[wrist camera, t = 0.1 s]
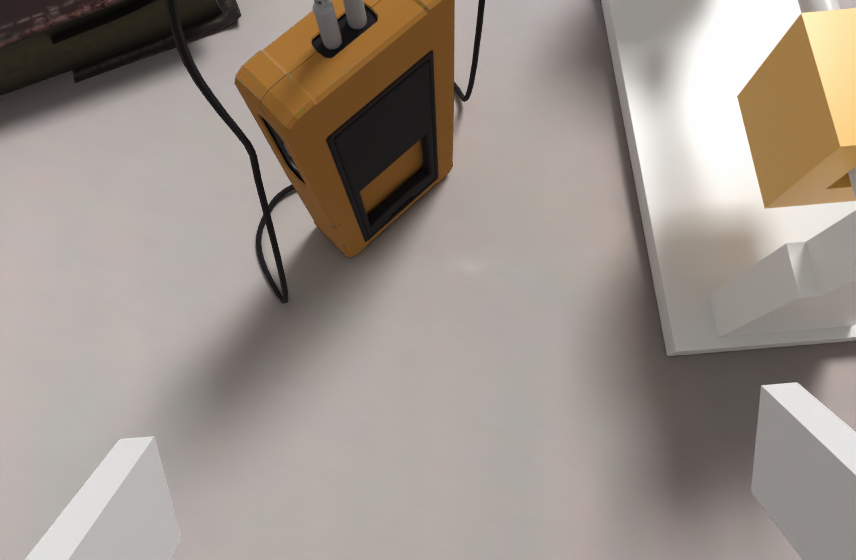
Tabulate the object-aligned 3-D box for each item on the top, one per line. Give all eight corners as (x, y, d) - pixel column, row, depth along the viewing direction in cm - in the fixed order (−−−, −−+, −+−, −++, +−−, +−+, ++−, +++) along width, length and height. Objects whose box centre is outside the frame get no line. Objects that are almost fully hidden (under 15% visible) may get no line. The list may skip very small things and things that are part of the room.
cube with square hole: (893, 197, 25) (1001, 132, 20) (764, 208, 25) (840, 146, 20) (859, 85, 26) (951, -1, 21) (737, 96, 26) (801, 12, 21)
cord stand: (882, 338, 29) (1157, 257, 18) (667, 356, 30) (804, 286, 18) (764, -73, 36) (910, -324, 25) (590, -57, 36) (654, -299, 25)
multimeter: (378, 14, 36) (293, -512, 16) (505, 126, 33) (578, -333, 14) (171, 181, 33) (-214, -209, 14) (293, 315, 31) (34, 68, 12)
